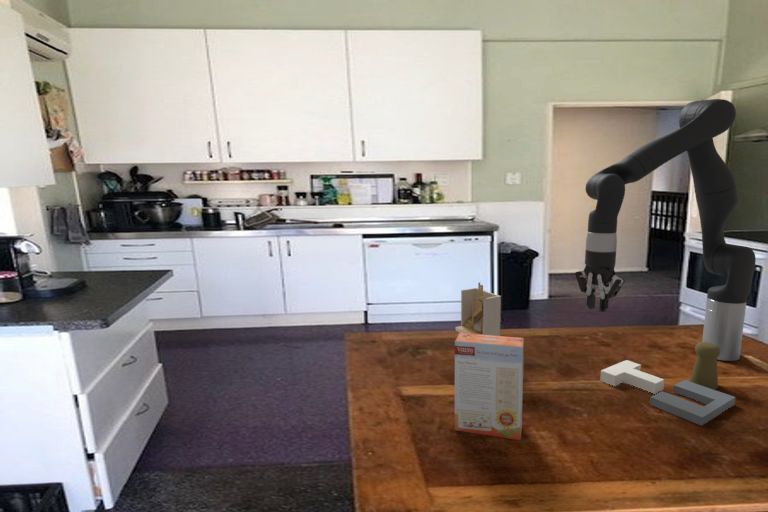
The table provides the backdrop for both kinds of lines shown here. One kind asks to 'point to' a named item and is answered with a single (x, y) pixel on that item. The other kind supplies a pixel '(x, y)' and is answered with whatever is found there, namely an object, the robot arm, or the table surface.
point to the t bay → (690, 410)
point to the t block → (631, 377)
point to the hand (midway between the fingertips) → (596, 309)
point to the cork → (706, 365)
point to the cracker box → (489, 385)
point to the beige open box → (480, 312)
